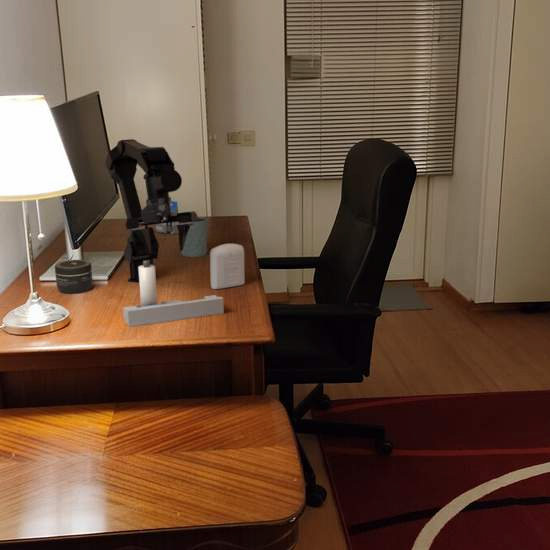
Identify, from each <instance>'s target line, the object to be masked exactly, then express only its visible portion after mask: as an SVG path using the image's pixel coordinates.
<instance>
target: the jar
mask: <svg viewBox="0 0 550 550" xmlns="http://www.w3.org/2000/svg"><path fill="white" fill-rule="evenodd" d="M54 270H55V271H54V273H55V280H56V287H57V290H58V291H59V293H61V294H64V295H76V294H83V293H86V292H89V291H90V290H92V289H91V288H92V286H93V273H92V271H93V269H92V263H91V262H90V260H86V259H68V260H64V261H60V262H58V263H55V266H54Z"/></svg>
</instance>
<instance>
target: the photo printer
mask: <svg viewBox="0 0 550 550" xmlns="http://www.w3.org/2000/svg"><path fill="white" fill-rule="evenodd" d="M209 262H210V264H209V268H210V269H209V271H210V273H209V274H210V276H209V277H210V286H211V287H210V288H211V289H212V290H220V289H227V288H231V287H238V286H242V285H245V279H246V277H245V249H244V246H243V245H241V244H237V243H224V244H220V245H217V246H214V247H213V248H211V250H210V252H209Z"/></svg>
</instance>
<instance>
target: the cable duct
mask: <svg viewBox="0 0 550 550" xmlns="http://www.w3.org/2000/svg"><path fill="white" fill-rule="evenodd" d="M224 311H225V310H224V298H223V297H222V296H217V295H216V294H213V295H206V296H203V298H201V299H195V300H187V301H186V300H185V301H182V300H181V299H175V300H169V301H160V302H159V304H158V303H157V305H150V306H142V305H141V304H140V305H131V306H123V307H122V312H123V319H124V321H125V323H126V324H127V327H129V328H130V327H131V328H132V327H138V326H144V325H152V324H158V323H159V324H160V323H165V322H172V321H180V320H187V318H188V319H195V318H200V317H201V316H202V317H207V316H208V315H209V316H217V315H221V314H224V313H225V312H224Z"/></svg>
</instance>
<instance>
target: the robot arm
mask: <svg viewBox="0 0 550 550" xmlns="http://www.w3.org/2000/svg"><path fill="white" fill-rule="evenodd" d="M137 166H139V168H140V169H142V170H143V172H144V175H143V180H145V181H144V182H145V188H146V199H145V202H146V203H145V206H144V207H143V208H142V206H141V202H140V199H139V194H138V190H137V187H136V183H135V182H136V181H135V176H136V173H137V170H138V169H137ZM105 167H106V170H107V171H108V173H109V176H110V178H111V179H112V180H113V181H114V182H115V183H116V185H118V188H119V189H118V190H119V192H120V196H121V200H122V203H123V208H124V211H125V215H126V220H125V223H124V225H125V230H129V232H128V234H127V239H126V242H127V243H126V245H125V248H124V252H123V256H124V260H125V261H127V262H128V263H129V264H128V265H129V276H130V277H129V278H127V281H128V282H135V283H136V282H137V283H139V268H138V267H139V266H141V265H143V261H144V260H150V265H154V266H155V267H156V264H155V263H154V260H157V259H158V257H159V248H160V247H159V246H160V245H159V241H158V239H157V237H156V235H155V230H154V228H153V227H149V226H152V225H156V224H163V223H171V222H179V223H180V225H177V228H178V231H179V233H178V243H179V244H178V245H179V251H180V252H181V251H182V250H183V248H184V244H185V240H186V237H187V233H188V231H189V228H190V226H191V225H194V224H193V223H192V222H195V221H198V218H197V217H198V214H197V212H196V211H184V212H178V213H177V215H176V216H173V212H171V207H170V205H171V204H170V201H172V197H171V196H170V193H172V192H176V191H178V190H179V189H180V188H181V185H182V183H183V182H182V181H183V180H182V176H181V175H180V172H178V171H177V170H176V167H175V163H174V162H173V160H172V159H171V157H170V155H169V153H168V151H167V150H166V148H165V147H163V146H148V145H145V144H143V143H142V142H141V143H140V142H139V141H137V140H136V139H133V138H131V139H121V140H118V142H117V144H116V145H115V146H114V147H113V148H112V149H110V150H109V151H108V154H107V156H106V158H105ZM163 217H166V218H168V219H165V220H164V219H163ZM166 220H167V221H166ZM156 278H157V275H156Z"/></svg>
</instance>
